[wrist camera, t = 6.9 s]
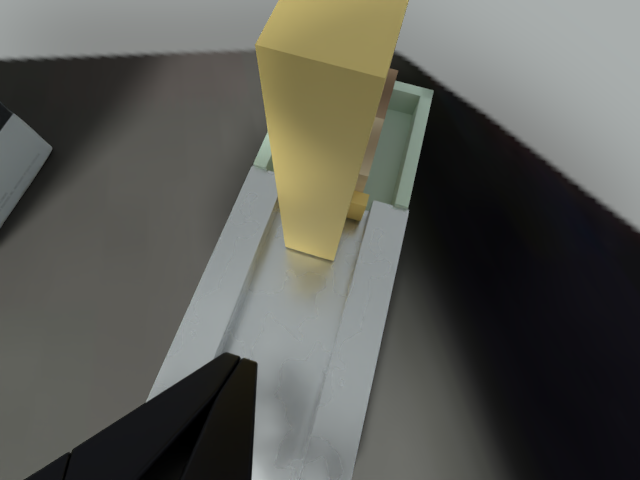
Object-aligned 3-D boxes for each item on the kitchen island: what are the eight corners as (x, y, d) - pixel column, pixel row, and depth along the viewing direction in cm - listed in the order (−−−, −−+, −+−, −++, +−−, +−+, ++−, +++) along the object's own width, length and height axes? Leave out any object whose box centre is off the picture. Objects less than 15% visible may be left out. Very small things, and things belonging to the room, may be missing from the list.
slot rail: (336, 501, 16) (342, 525, 14) (150, 437, 17) (123, 449, 14) (397, 228, 22) (410, 210, 19) (256, 188, 22) (251, 165, 20)
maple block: (356, 210, 21) (368, 176, 17) (297, 193, 21) (295, 156, 17) (370, 161, 22) (384, 119, 19) (315, 145, 22) (317, 101, 19)
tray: (394, 227, 22) (408, 207, 19) (259, 188, 22) (253, 163, 20) (419, 121, 25) (433, 90, 22) (301, 89, 26) (301, 56, 23)
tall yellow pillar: (348, 265, 19) (425, 88, 7) (271, 242, 19) (217, 34, 7) (363, 210, 20) (449, -17, 8) (291, 189, 21) (274, -59, 9)
